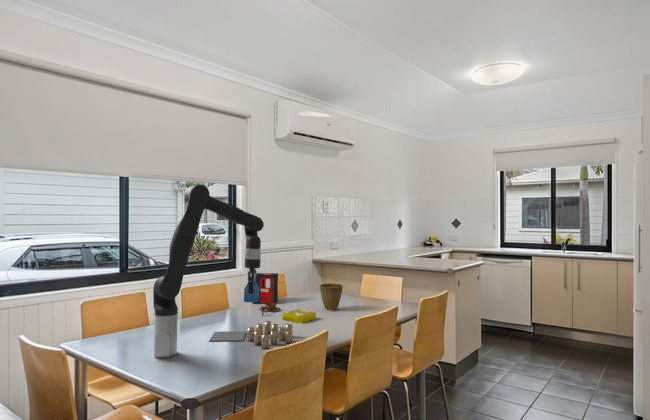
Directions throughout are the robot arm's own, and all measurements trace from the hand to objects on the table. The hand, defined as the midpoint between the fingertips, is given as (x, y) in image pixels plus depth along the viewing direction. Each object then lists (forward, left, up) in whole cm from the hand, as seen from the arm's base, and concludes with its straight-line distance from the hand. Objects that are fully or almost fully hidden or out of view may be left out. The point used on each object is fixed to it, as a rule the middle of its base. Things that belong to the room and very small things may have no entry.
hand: (251, 292), depth 208 cm
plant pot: (+66, -46, -23) cm, 83 cm away
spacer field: (-2, -9, -23) cm, 25 cm away
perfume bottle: (0, 0, -4) cm, 4 cm away
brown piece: (+62, -4, -24) cm, 66 cm away
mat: (+5, +11, -23) cm, 26 cm away
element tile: (+41, -24, -23) cm, 53 cm away
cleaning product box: (+90, -2, -23) cm, 93 cm away
